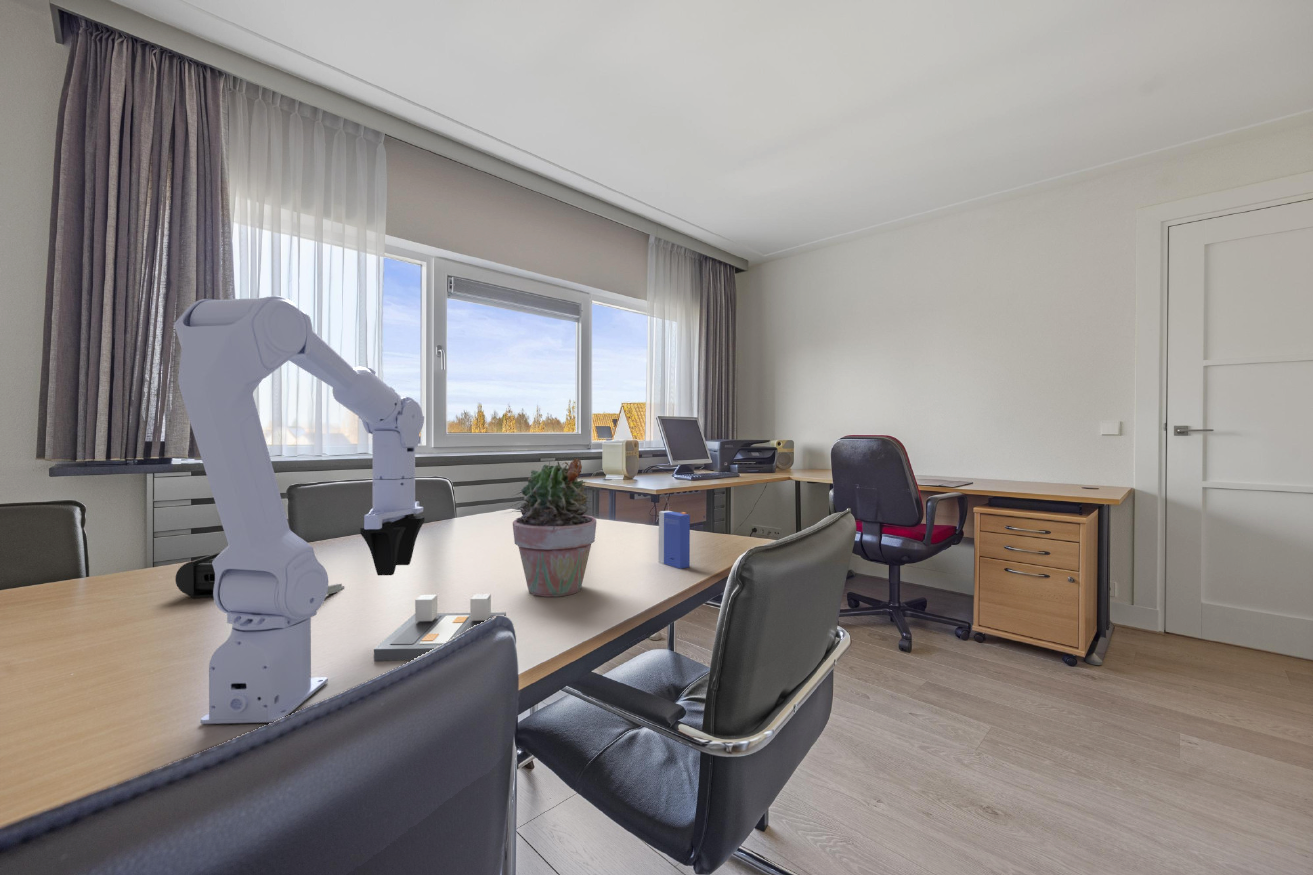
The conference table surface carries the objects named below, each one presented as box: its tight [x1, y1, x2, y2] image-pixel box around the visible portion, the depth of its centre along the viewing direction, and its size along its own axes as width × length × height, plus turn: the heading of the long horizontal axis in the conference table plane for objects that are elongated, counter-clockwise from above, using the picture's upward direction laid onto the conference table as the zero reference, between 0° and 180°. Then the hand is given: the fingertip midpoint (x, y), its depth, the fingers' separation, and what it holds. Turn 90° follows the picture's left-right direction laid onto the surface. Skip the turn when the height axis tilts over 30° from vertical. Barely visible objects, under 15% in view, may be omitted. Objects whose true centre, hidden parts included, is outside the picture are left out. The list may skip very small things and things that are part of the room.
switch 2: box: [469, 593, 492, 621], centre depth 83 cm, size 2×2×3 cm
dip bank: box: [373, 611, 507, 662], centre depth 79 cm, size 14×14×2 cm
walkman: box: [658, 510, 691, 570], centre depth 124 cm, size 8×3×12 cm, turn 37°
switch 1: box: [414, 594, 438, 621], centre depth 83 cm, size 2×2×3 cm
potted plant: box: [502, 458, 604, 598], centre depth 105 cm, size 18×20×25 cm
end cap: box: [174, 550, 223, 599], centre depth 103 cm, size 10×7×7 cm
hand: (394, 569), depth 82 cm, fingers open, 5 cm apart
